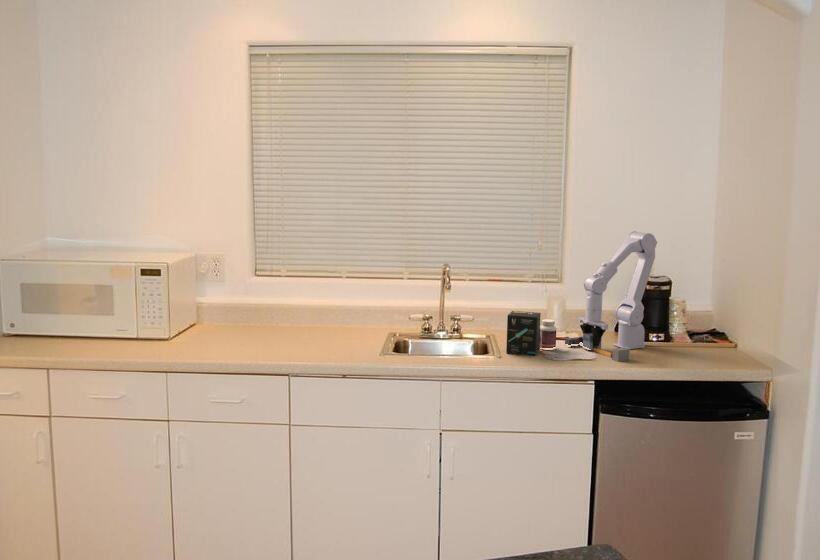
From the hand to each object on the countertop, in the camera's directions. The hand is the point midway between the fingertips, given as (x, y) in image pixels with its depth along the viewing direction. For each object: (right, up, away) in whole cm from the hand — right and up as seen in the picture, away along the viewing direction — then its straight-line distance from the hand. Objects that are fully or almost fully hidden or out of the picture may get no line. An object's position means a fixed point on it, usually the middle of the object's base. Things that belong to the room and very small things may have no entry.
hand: (591, 344), depth 269 cm
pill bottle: (-17, -2, 0) cm, 17 cm away
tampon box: (-27, -3, -4) cm, 27 cm away
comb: (-3, -1, +7) cm, 8 cm away
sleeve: (0, -2, 0) cm, 2 cm away
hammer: (+2, -3, -3) cm, 5 cm away
